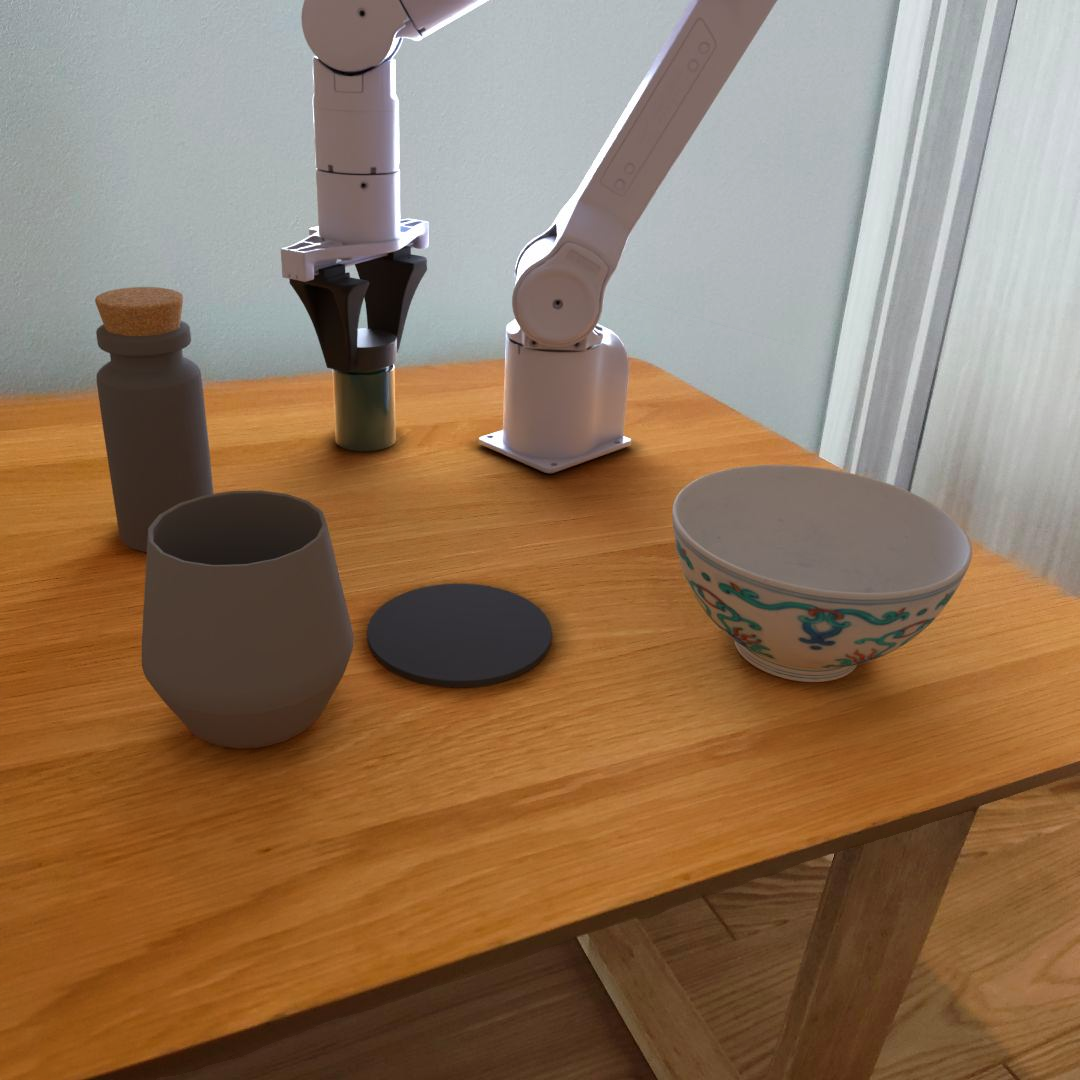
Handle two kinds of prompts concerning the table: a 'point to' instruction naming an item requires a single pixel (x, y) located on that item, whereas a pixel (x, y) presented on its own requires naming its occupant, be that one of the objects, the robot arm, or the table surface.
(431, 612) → the coaster
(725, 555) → the chinaware
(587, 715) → the table surface
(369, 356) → the cap
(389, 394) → the spice jar
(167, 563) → the cup
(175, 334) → the bottle
